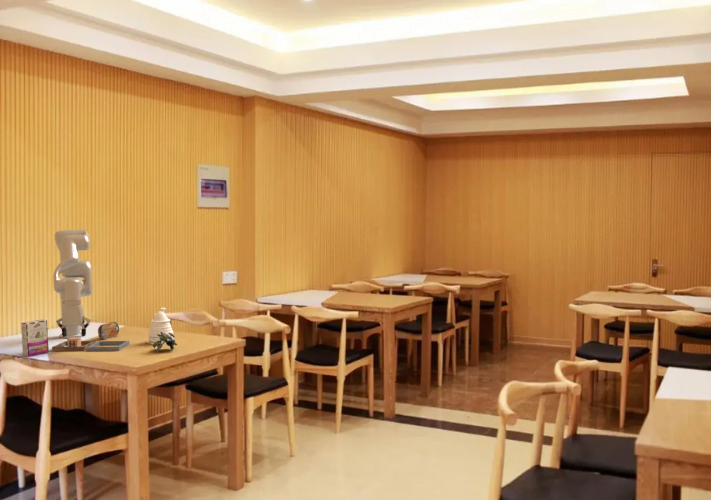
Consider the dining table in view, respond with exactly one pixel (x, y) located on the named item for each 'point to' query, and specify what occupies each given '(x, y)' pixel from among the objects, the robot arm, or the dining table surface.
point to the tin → (108, 330)
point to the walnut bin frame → (81, 348)
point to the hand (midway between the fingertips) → (74, 336)
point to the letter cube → (74, 342)
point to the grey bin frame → (112, 348)
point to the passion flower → (166, 339)
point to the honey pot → (159, 327)
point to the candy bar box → (34, 337)
